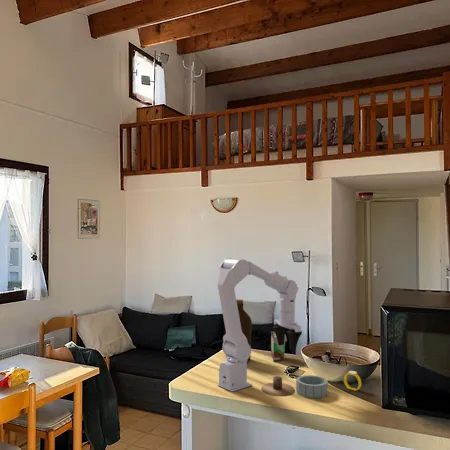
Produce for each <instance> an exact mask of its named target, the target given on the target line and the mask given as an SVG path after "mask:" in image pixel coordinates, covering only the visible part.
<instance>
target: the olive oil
mask: <svg viewBox="0 0 450 450" xmlns="http://www.w3.org/2000/svg"><path fill="white" fill-rule="evenodd" d="M236 301H237V307H238V313H239V318H240V324H241V330H242V333H243V334H244V335H245V337H246V338H247V342H248V344H249V345H250V347H251V348H252V332H253V331H252V330H253V321H252V317H250V315H249V314H248V313H247V312H246V311H245V310H244V300H243V299H236ZM251 355H252V354H251ZM251 355H250V357H249V358H248V361H247V363H249V362H250V361H251V357H252V356H251Z"/></svg>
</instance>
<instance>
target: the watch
mask: <svg viewBox="0 0 450 450" xmlns="http://www.w3.org/2000/svg"><path fill="white" fill-rule="evenodd" d="M348 376H354V377H355V378H356V379H357V382H358V386H357V387H356V388H355V387H351V386H350V384H349V383H348V381H347V379H348ZM343 384H344V385H345V387H346V388H347V389H348V390H352V391H354V392H356V391H358V390H360V389H361V387H362V379H361V377H360V376H359V374H358V372H357V371H354V370H349V371H348V372H347V373H345V375H344V377H343Z"/></svg>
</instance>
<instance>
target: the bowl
mask: <svg viewBox="0 0 450 450" xmlns="http://www.w3.org/2000/svg"><path fill="white" fill-rule="evenodd" d="M295 382H296V383H295V384H296V385H295V386H296V387H295V391H296V393H297V394H298V395H300V396H301V397H304V398H308V399H309V398H310V399H322V398H325V397H327V395H328V391H329V389H328V384H329V383H328V380H327V379H326V378H325V377H322V376H319V375H312V374H311V375H310V374H309V375H305V374H304V375H300V376H297V378H296V380H295Z"/></svg>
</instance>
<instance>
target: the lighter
mask: <svg viewBox="0 0 450 450" xmlns="http://www.w3.org/2000/svg"><path fill="white" fill-rule="evenodd" d="M321 359H322V361H325V362H330V360H329V359H330V358H329V355H328V354H325V355H322V356H321ZM330 363H331V362H330Z"/></svg>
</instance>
